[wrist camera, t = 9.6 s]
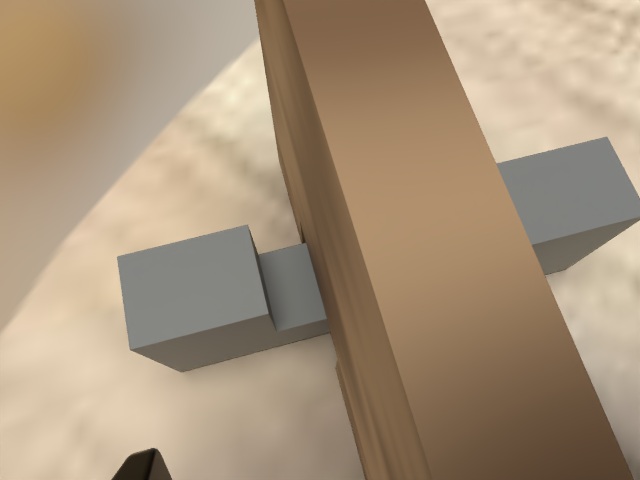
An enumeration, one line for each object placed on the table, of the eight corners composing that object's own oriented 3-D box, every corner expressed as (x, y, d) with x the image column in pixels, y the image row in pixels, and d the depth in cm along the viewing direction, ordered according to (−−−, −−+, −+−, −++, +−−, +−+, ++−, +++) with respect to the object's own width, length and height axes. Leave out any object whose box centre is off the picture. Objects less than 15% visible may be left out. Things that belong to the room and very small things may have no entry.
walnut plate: (428, 469, 16) (663, 548, 5) (368, 487, 16) (472, 609, 5) (328, 148, 20) (336, -202, 9) (278, 159, 20) (226, -182, 9)
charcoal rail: (538, 207, 20) (607, 136, 15) (566, 269, 19) (648, 214, 14) (169, 301, 18) (117, 256, 14) (181, 372, 17) (129, 349, 13)
